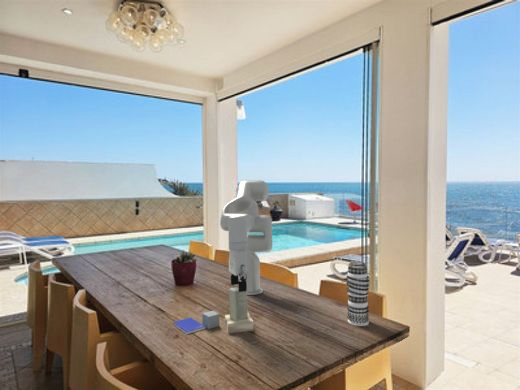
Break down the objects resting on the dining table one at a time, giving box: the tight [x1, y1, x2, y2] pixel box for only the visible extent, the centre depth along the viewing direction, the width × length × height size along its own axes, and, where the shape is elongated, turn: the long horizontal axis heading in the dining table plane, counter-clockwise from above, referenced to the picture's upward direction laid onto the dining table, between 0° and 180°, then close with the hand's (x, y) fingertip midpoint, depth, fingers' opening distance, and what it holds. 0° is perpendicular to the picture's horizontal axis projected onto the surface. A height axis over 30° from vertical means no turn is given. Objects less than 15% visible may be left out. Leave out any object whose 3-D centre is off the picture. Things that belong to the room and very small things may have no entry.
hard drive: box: [173, 317, 207, 335], centre depth 130 cm, size 2×8×12 cm
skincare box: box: [228, 285, 249, 321], centre depth 129 cm, size 6×4×12 cm
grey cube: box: [202, 310, 220, 330], centre depth 130 cm, size 5×5×5 cm
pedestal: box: [224, 312, 254, 334], centre depth 129 cm, size 10×10×4 cm
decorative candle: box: [346, 260, 370, 327], centre depth 132 cm, size 9×9×25 cm
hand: (238, 287), depth 129 cm, fingers open, 9 cm apart
